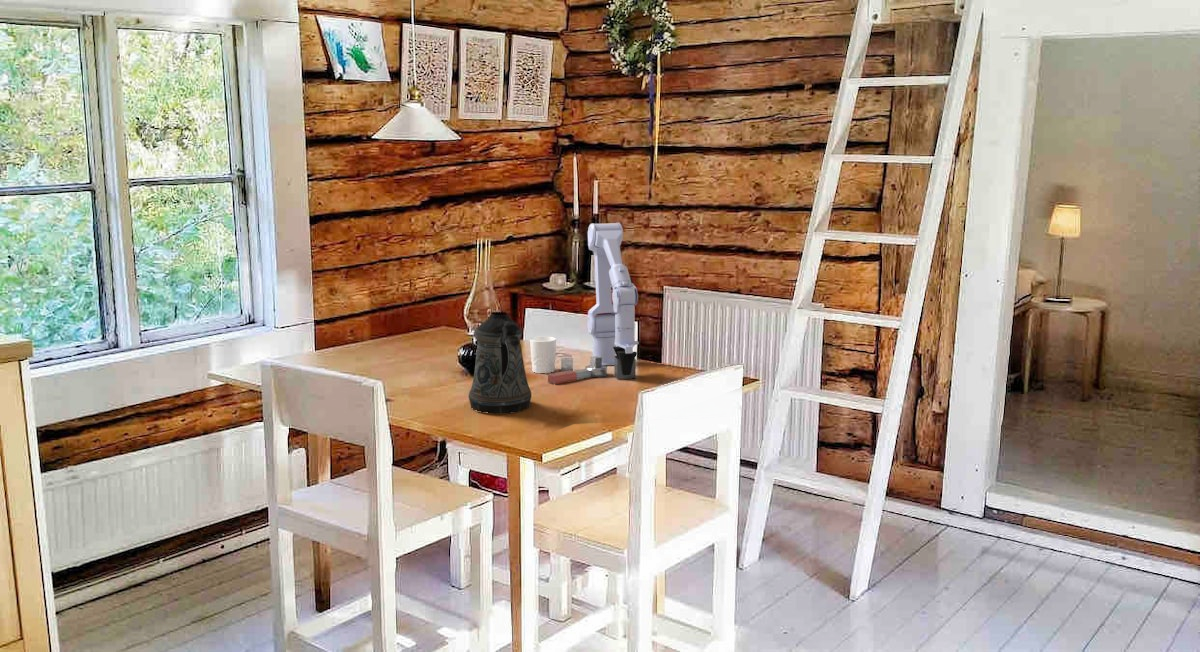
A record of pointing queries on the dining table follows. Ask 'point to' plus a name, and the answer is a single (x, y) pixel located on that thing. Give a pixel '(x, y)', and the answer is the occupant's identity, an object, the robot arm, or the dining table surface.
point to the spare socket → (566, 364)
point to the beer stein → (499, 367)
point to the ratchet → (580, 372)
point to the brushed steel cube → (618, 369)
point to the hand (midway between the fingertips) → (624, 372)
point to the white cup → (543, 354)
